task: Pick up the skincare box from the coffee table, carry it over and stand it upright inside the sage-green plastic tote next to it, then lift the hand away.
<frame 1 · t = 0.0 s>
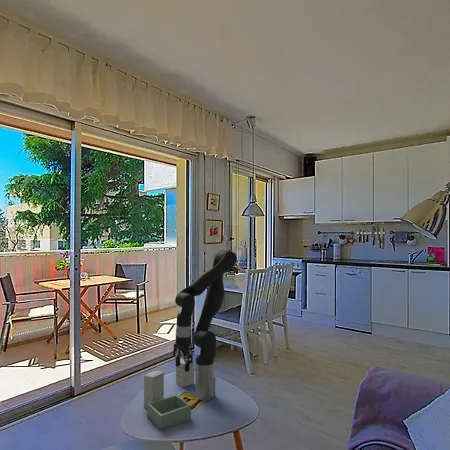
hand: (182, 368, 166), 17 cm above the table, tool pointing down, fingers open, 8 cm apart
skincare box: (153, 405, 166), on the table
supplement box: (184, 383, 189), on the table
tote: (168, 418, 154), on the table
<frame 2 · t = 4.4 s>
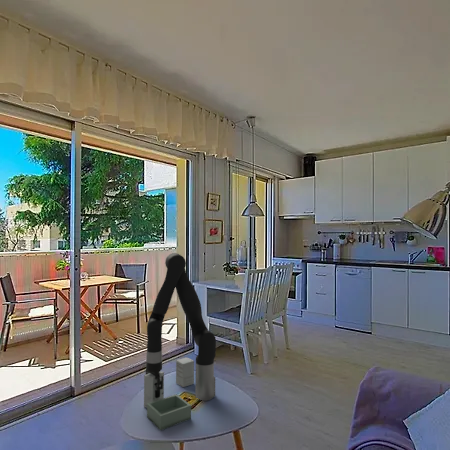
hand: (153, 394, 166), 5 cm above the table, tool pointing down, fingers closed on skincare box, 7 cm apart
skincare box: (153, 405, 166), on the table, touching gripper
everything else where it was.
when the fingers open (7 cm above the table, at t = 12.3 s): skincare box drops 1 cm, resting on tote.
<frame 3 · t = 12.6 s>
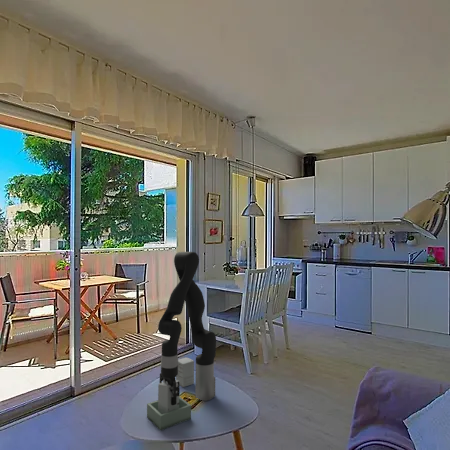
hand: (169, 400, 154), 8 cm above the table, tool pointing down, fingers open, 8 cm apart
skincare box: (168, 416, 154), point 1 cm above the table, touching tote
everything else where it was.
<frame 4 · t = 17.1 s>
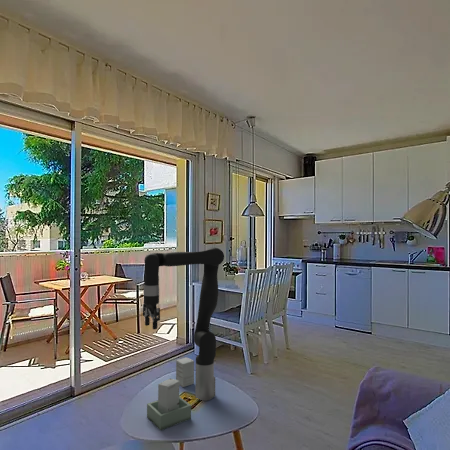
hand: (151, 327, 170), 36 cm above the table, tool pointing down, fingers open, 8 cm apart
nothing on the table moved.
at the end: skincare box inside the target area on the tote (0.2 cm from its centre), point 0.8 cm above the tote's base; skincare box tilted 0°; the gripper is holding nothing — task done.
